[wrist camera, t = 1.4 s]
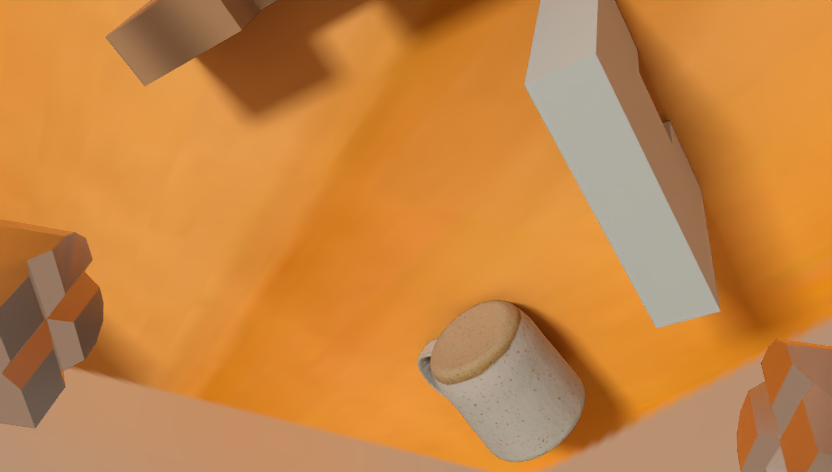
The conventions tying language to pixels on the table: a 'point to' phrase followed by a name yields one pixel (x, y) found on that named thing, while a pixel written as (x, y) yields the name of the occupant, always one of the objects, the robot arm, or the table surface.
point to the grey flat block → (623, 155)
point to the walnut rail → (178, 32)
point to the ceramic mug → (505, 380)
